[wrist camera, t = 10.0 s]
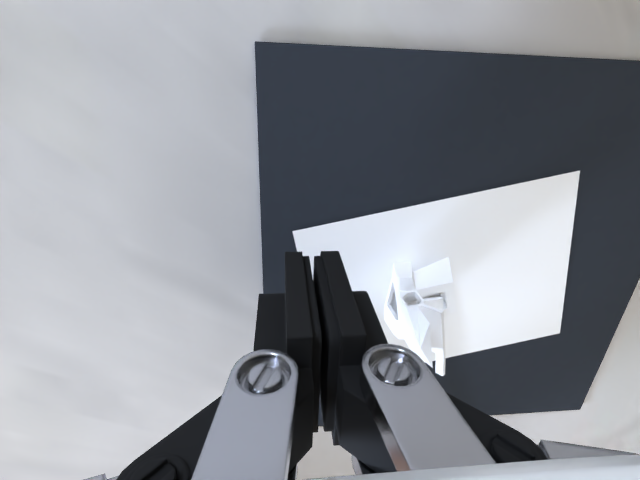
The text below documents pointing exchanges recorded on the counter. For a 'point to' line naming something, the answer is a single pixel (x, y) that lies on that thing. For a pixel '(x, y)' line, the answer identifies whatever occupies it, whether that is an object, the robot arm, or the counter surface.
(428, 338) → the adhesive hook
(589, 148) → the centre mat
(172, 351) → the counter surface
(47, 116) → the counter surface
